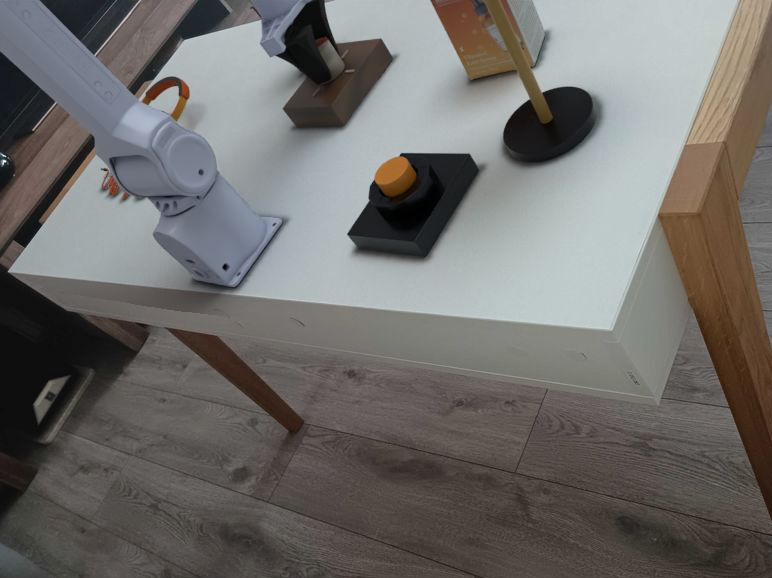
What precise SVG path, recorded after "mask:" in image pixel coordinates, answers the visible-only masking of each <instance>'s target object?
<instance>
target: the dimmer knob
mask: <svg viewBox="0 0 772 578" xmlns="http://www.w3.org/2000/svg"><path fill="white" fill-rule="evenodd" d="M315 42H316V45H317V47H318V49H319V52H320V54H321V55H322V57H323V59H324V61H325V62H326V64H327V66H328V68H329V70H330V73H331V76H332V77H331V80H329V81H327V82H324V83H322V84H326V83H329V82H331V81H332V80H334V79H335V78H337V77H338V76H339V75H340V74H341V73H342V71H343V70H344V67H345V64H344V62H343V61H342V59H341V58H340V56H339V55H338V53H337V52H336V50H335V49H334V47H333V46H332V44H331V43H330V41H329V40H328V39H327V37H326V36H325V37H324V38H320V39H317V40H315Z"/></svg>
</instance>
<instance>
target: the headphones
mask: <svg viewBox="0 0 772 578" xmlns="http://www.w3.org/2000/svg"><path fill="white" fill-rule="evenodd" d="M173 87H178V92H177V93H178V97H179V98H178V100H177V103H176V105H175V107H174V109H173V111H172V112H171V114H170V113H168V112H166V111H164V110H160V109H159V110H160V111H162V112H164V113H166V114H168V115H170V116H171V117H172V118H173V119H174V120H175V121H176V122H177V123H178V121H179V119H180V117H181V116H182V114H183V112H184V110H185V107H186V105H187V102H188V100H190V97H191V96H190V95H191V91H190V86H189V85H188V84H187V82H185V81H184V80H183V79H181V78H179V77H177V76H166V77H164V78H162V79H159V80H158V81H157V82H154V84H153V85H151V86H150V87H149V88H148V89H147V90H146V92H145V95H144V97H143V98H142V100H141V101H140V102H142V103H144V104H146V105H149V106H150V104H151V103H152V102H153V101H155V100H156V99H157V98H158V97H159V96H160V95H161V94H163V92H165V91H166V90H168V89H170V88H173ZM100 171H103V172H106V174H105V177H104V179H103V180H102V182H101V189H106V188H108V187H110V188H109V191H108V194H109V195H112V196H113V197H115V196H116V195H117V193H118V192H119V190H120V189H121V188H120V187H119V186H118V185H117V183H116V182H115V180H114V178H113V176H112V175H110V178H109V180H108V181H107V183H106V185H105V186H104V184H105V182H106V180H107V178H108V176H109V174H110V169H109V168H108V167H107V168H106V167H103V168H101V167H100ZM128 195H129V194H128V193H126V192H124V193H123V195H122V200H123V201H124V200H125V199H126V198H127V197H128ZM136 198H137V199H138V197H136Z"/></svg>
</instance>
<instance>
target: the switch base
mask: <svg viewBox="0 0 772 578" xmlns="http://www.w3.org/2000/svg"><path fill="white" fill-rule="evenodd" d="M398 157H405V158H406V159H407V160H408V162H409V163H410V165H411V166H412V168H413V169H414V171H415V172H416V174H417V178H416V180H415V182H414V183H413V185H412V186H411V187H410V188H408V189H407V190H406V191H405V192H403V193H402V194H400V195H397V196H394V197H387V196H386V195H385V194H384V193H383V192H382V190H381V189H380V187H379V186H378V185H377V183H376V182H375V179H373V180H372V182H371V184H369V189H368V202H367V203H366V204H365V206H364V208H363V209H362V211H361V212H360V213H359V215H358V216H357V218H356V220H355V222H354V223H353V224H352V226H351V227H350V229H349V230H348V232H347V233H346V235H347V237H348V238H349V239H350V240H351V242H352V243H353V244H354V245H355V246H356V247H357V249H359V250H367V251H374V252H384V253H391V254H400V255H409V256H417V257H427V256H428V255H429V253H430V252H431V249H432V248H433V246H434V245H435V243H436V241H437V240H438V238H439V237H440V236H441V234H442V232H443V230H444V228H445V226H446V225H447V223H448V222H449V220H450V218H451V217H452V215H453V213H454V212H455V210H456V208H457V207H458V206H459V204H460V202H461V200H462V199H463V197H464V196H465V194H466V192H467V191H468V189H469V187H470V185H472V182H473V181H474V180H475V177H476V176H477V174H478V173H479V171H480V168H479V166H478V165H477V163H476V162H475V160H474V157H473V156H472V155H471V153H469V152H468V153H466V152H465V153H461V152H459V153H458V152H456V153H455V152H454V153H453V152H441V153H440V152H401V153H400V154H399V156H398Z"/></svg>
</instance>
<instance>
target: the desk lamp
mask: <svg viewBox="0 0 772 578" xmlns="http://www.w3.org/2000/svg"><path fill="white" fill-rule="evenodd" d="M484 2H485V4H486V6H487V8H488V11H489V13H490V15H491V17H492V19H493V21H494V23H495V26H496V28H497V30H498V32H499V34H500V36H501V38H502V40H503V43H504V45H505V47H506V49H507V51H508V53H509V55H510V57H511V60H512V62H513V64H514V66H515V68H516V70H515V71H516V72H517V74H518V76H519V79H520V81H521V84H522V85H523V87H524V89H525V91H526V94H527V95H528V98H529V99H527V100H526V101H525V102H524V103H522V104H520V106H519V107H517V109H516V110H515V111H513V112H512V114H511V115H510V117H509V118H508V120H507V121H506V123H505V126H504V127H503V132H502V139H503V143H504V145H505V147H506V149H507V150H508V153H509V154H510V155H511V157H513V158H514V159H516V160H517V161H519V162H523V163H531V164H534V163H543V162H547V161H550V160H553V159H556V158H559V157H560V156H563V155H564V154H567V153H568V152H570V151H572V150H573V149H575V148H576V147H577V146H579V144H581V143H582V142H583V141H584V140H585V139H586V137H588V135H589V134H590V133H591V131H592V129H593V128H594V126H595V125H596V120H597V116H598V115H597V114H598V113H597V107H596V105H595V102H594V100H593V97H592V96H591V95H590V93H589V92H588V91H586V90H585V89H583V88H581V87H577V86H571V85H569V86H568V85H567V86H559V87H558V86H557V87H554V88H551V89H550V88H549V89H547V90H544V91H542V89H541V88H540V87H541V86H540V85H539V83H538V81H537V79H536V77H535V74H534V72H533V69H532V67H530V65H529V63H528V61H527V59H526V56H525V54H524V52H523V50H522V48H521V45H520V43H519V41H518V39H517V37H516V34H515V32H514V30H513V28H512V25H511V23H510V21H509V19H508V17H507V14H506V12H505V10H504V8H503V6H502V3H501V1H500V0H484Z"/></svg>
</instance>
